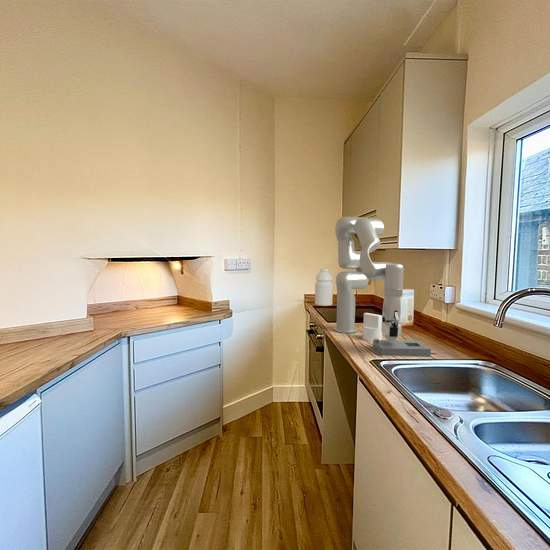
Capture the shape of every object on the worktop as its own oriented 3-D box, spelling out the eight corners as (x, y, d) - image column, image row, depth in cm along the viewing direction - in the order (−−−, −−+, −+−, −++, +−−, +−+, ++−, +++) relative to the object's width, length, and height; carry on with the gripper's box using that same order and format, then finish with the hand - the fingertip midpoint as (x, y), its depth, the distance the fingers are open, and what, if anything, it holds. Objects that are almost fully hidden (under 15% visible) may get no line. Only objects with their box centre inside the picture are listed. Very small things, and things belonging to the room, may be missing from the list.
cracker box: (405, 323, 200) (406, 288, 198) (413, 325, 194) (415, 289, 192) (387, 325, 193) (388, 289, 192) (395, 327, 188) (396, 290, 186)
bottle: (312, 303, 270) (312, 268, 268) (328, 302, 273) (329, 268, 271) (318, 306, 256) (319, 269, 254) (335, 305, 260) (336, 269, 258)
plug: (380, 336, 148) (381, 322, 148) (395, 337, 148) (396, 322, 148) (385, 340, 142) (386, 325, 141) (400, 341, 142) (401, 326, 141)
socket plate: (372, 346, 152) (373, 338, 151) (417, 347, 151) (418, 338, 151) (381, 355, 139) (381, 346, 138) (430, 356, 138) (431, 347, 138)
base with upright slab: (358, 338, 165) (359, 314, 164) (370, 335, 171) (370, 312, 170) (374, 342, 158) (374, 317, 157) (385, 339, 164) (386, 315, 163)
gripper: (378, 289, 152) (376, 328, 154) (390, 295, 135) (388, 339, 136) (395, 290, 152) (393, 329, 153) (409, 296, 134) (406, 340, 136)
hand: (390, 333), depth 145 cm, fingers closed on plug, 6 cm apart
